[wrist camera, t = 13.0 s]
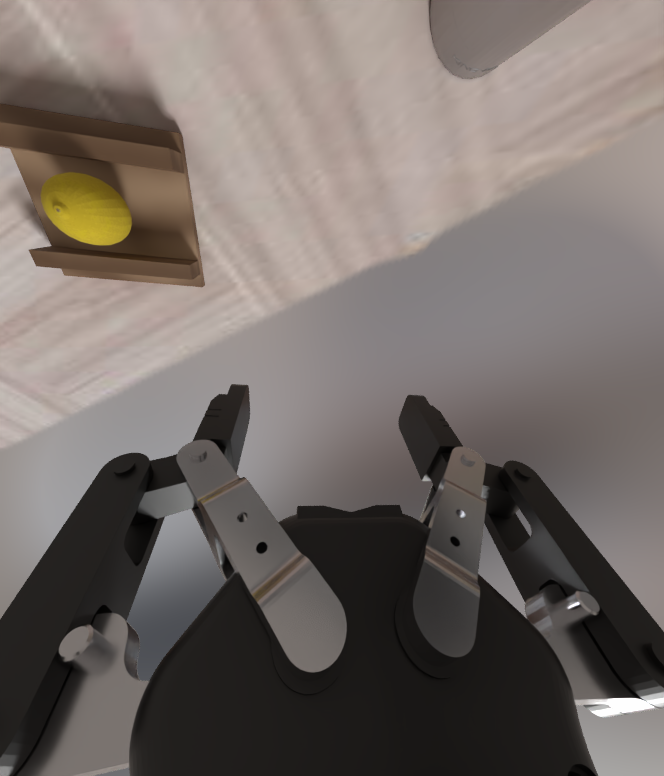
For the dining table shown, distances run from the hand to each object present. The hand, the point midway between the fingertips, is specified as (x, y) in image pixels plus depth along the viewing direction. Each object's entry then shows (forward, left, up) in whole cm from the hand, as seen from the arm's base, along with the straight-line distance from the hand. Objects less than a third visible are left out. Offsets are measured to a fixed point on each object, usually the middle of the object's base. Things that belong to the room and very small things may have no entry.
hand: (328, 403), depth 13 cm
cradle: (-5, -21, -26) cm, 34 cm away
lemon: (-5, -21, -25) cm, 33 cm away
